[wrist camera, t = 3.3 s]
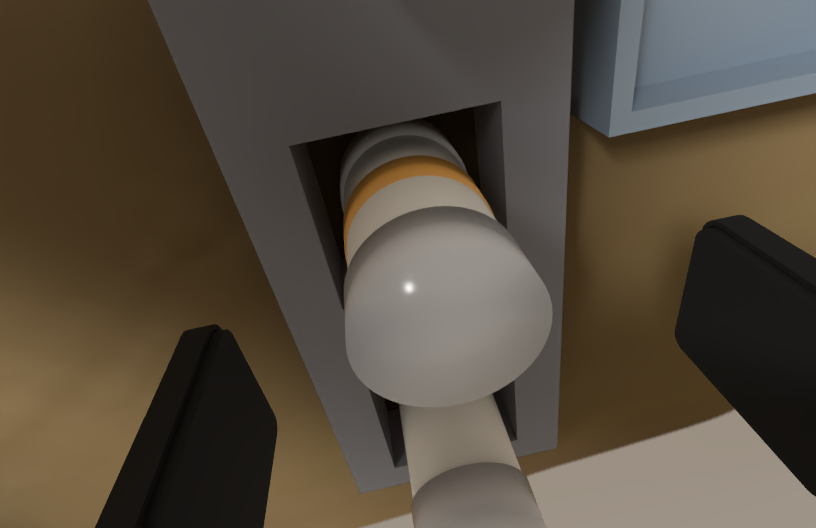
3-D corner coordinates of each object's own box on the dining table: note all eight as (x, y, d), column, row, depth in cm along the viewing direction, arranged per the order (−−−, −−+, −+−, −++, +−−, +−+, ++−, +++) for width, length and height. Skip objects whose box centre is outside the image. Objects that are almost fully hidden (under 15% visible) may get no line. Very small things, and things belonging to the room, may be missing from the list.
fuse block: (11, -463, 8) (-139, -664, 5) (519, -555, 8) (604, -791, 5) (357, 435, 22) (360, 493, 20) (532, 395, 23) (557, 448, 20)
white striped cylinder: (325, 130, 14) (319, 277, 7) (450, 103, 14) (554, 225, 8) (355, 238, 16) (370, 424, 10) (463, 215, 16) (550, 383, 10)
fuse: (382, 337, 19) (409, 533, 13) (474, 317, 19) (548, 501, 13) (399, 397, 21) (429, 591, 15) (481, 379, 21) (547, 563, 15)
